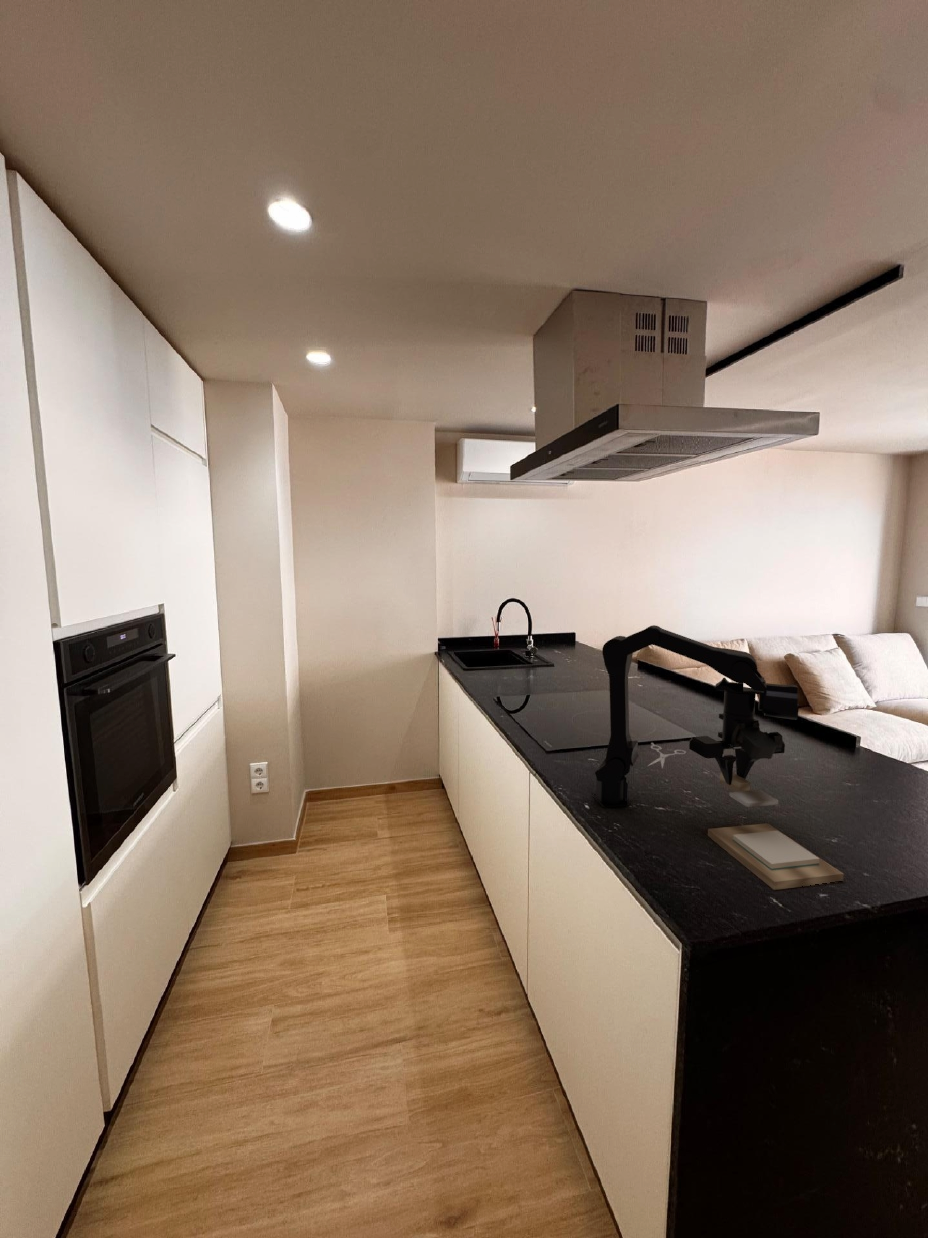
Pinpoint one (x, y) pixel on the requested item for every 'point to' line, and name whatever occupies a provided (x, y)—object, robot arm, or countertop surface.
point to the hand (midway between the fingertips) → (734, 783)
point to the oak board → (770, 877)
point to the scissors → (662, 756)
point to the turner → (747, 792)
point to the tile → (775, 850)
